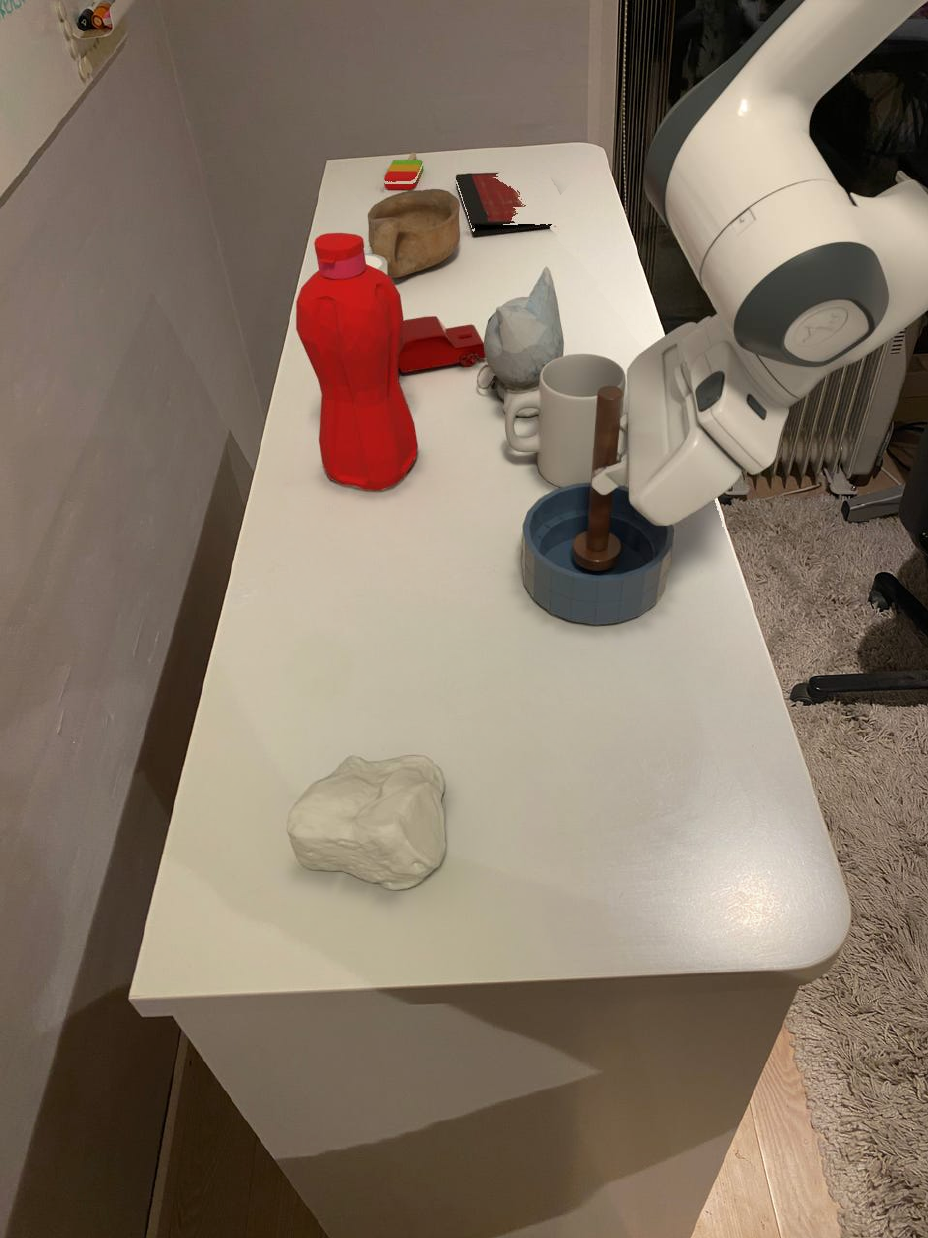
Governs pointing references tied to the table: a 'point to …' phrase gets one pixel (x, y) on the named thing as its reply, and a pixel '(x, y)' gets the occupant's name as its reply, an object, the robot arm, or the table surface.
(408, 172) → the popsicle
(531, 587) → the stir bowl
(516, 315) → the figurine
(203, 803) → the table surface
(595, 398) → the mug
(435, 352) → the toy car
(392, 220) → the bowl
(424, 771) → the decorative stone
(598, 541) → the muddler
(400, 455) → the water bottle
